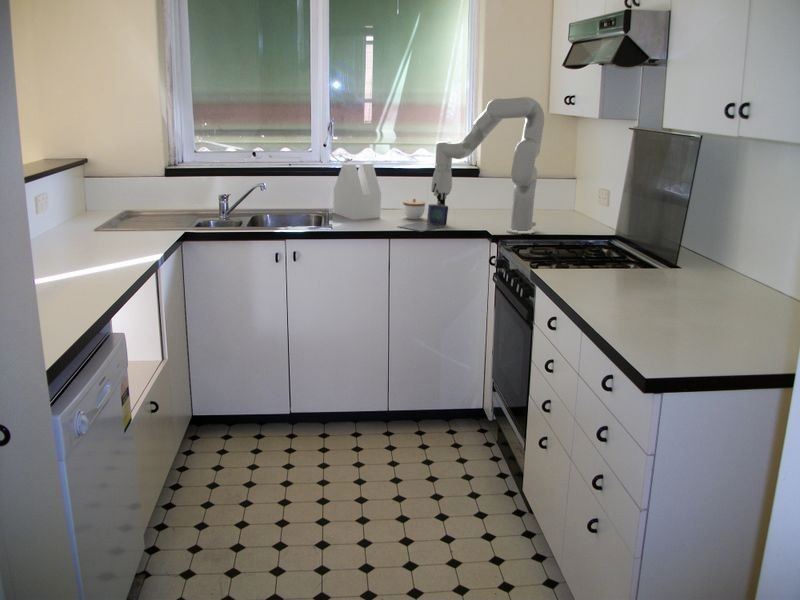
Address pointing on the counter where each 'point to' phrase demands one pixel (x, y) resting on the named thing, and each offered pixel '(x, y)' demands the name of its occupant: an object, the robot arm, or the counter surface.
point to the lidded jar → (413, 209)
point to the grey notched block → (357, 192)
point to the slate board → (420, 226)
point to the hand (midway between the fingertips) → (440, 207)
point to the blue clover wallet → (437, 214)
